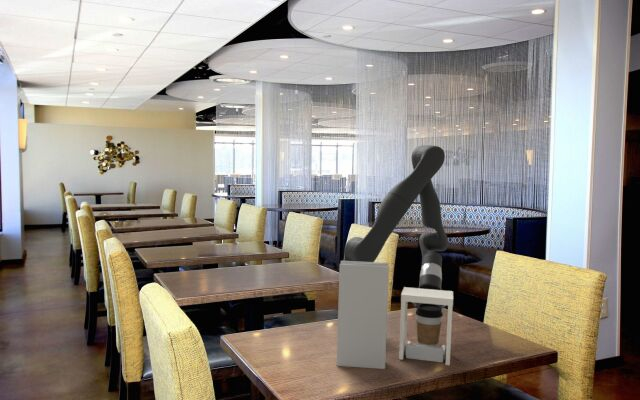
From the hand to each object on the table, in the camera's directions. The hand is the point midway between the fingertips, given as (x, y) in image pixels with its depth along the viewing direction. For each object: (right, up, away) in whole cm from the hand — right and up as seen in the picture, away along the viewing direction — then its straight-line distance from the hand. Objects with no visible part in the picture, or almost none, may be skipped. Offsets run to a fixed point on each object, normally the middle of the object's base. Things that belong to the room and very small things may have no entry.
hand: (427, 323), depth 170 cm
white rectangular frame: (-3, -8, -9) cm, 12 cm away
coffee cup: (-1, -8, -7) cm, 11 cm away
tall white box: (-23, -8, -18) cm, 31 cm away
